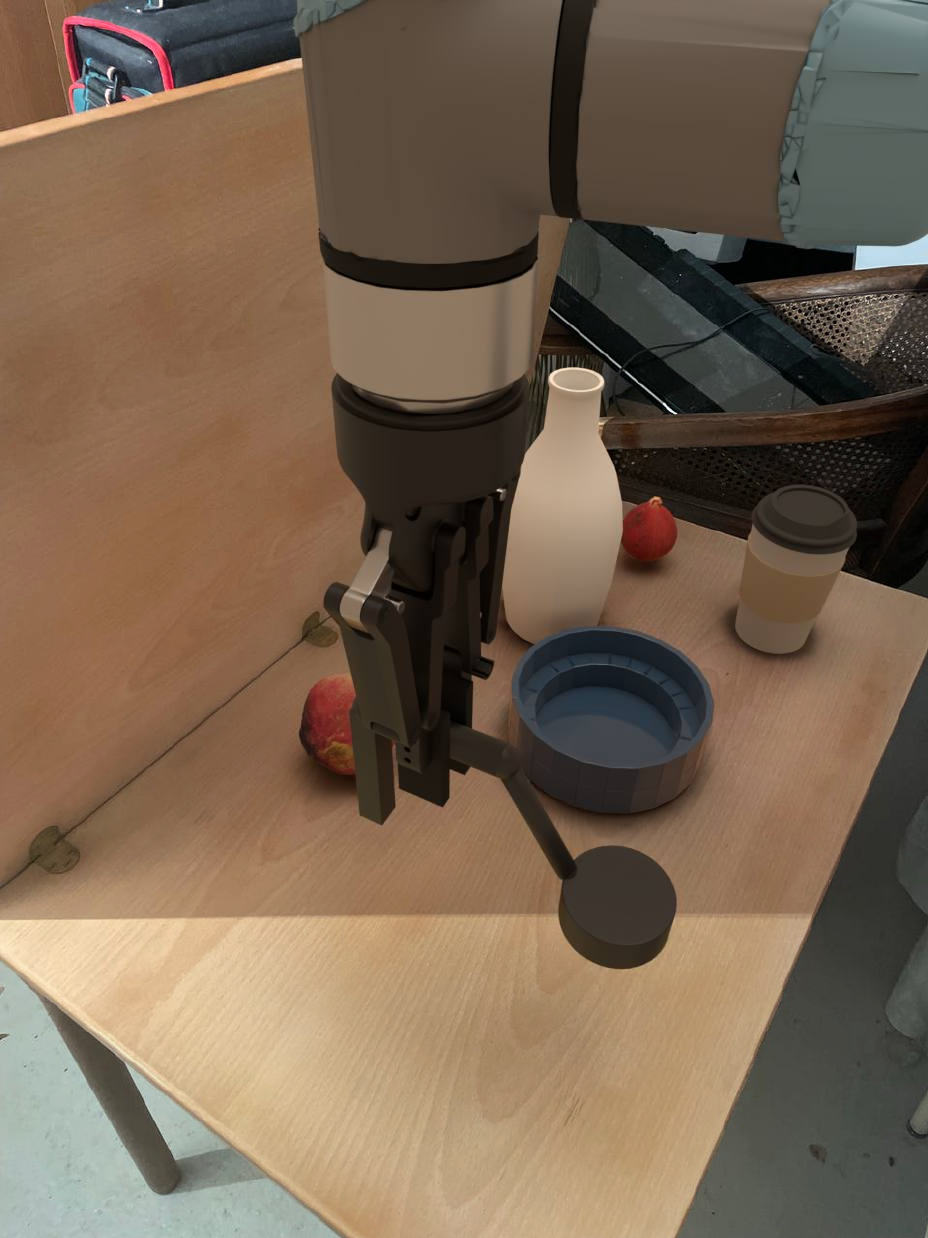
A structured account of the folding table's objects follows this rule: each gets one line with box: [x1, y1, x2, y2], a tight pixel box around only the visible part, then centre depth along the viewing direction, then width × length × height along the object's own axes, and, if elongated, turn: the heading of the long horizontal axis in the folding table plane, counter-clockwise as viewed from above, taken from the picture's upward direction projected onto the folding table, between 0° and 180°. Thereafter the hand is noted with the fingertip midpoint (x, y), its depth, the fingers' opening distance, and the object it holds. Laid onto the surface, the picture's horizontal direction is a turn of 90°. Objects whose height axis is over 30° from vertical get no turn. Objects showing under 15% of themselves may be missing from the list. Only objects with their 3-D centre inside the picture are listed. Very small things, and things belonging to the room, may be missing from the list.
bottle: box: [502, 367, 624, 645], centre depth 81 cm, size 11×11×25 cm
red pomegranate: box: [620, 496, 678, 564], centre depth 94 cm, size 6×6×8 cm
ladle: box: [349, 697, 678, 970], centre depth 48 cm, size 19×6×10 cm, turn 62°
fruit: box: [298, 673, 395, 776], centre depth 72 cm, size 8×8×8 cm
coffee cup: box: [734, 484, 858, 655], centre depth 83 cm, size 9×9×15 cm
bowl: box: [507, 625, 715, 814], centre depth 75 cm, size 16×16×6 cm
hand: (435, 776), depth 49 cm, fingers closed on ladle, 2 cm apart
